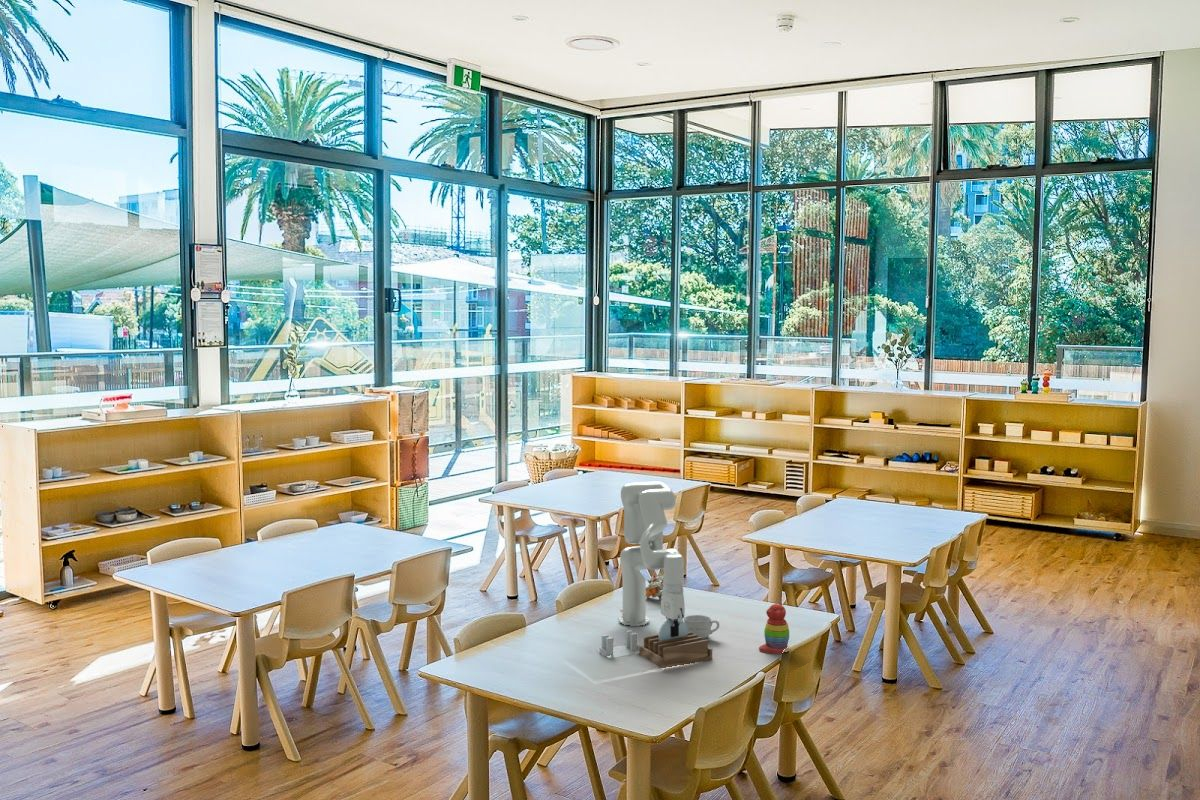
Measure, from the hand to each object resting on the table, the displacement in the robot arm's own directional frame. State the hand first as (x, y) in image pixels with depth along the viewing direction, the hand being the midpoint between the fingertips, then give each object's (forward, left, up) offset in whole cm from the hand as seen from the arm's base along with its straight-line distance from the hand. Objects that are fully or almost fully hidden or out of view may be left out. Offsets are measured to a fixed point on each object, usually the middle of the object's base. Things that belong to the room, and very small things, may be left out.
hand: (673, 635), depth 379 cm
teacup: (-12, +21, -8) cm, 26 cm away
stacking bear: (+13, +38, -8) cm, 41 cm away
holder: (-12, -16, -8) cm, 22 cm away
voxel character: (-62, +31, -8) cm, 70 cm away
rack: (+2, 0, -8) cm, 8 cm away
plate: (0, -3, -5) cm, 6 cm away
